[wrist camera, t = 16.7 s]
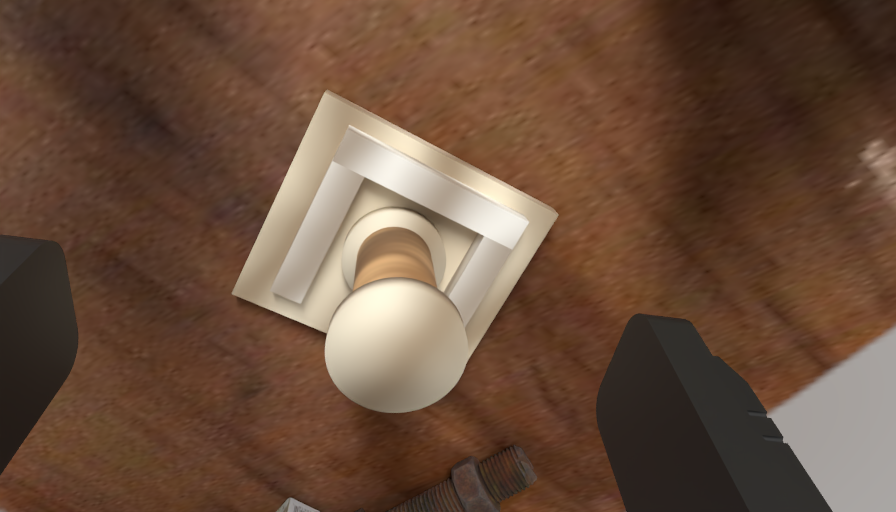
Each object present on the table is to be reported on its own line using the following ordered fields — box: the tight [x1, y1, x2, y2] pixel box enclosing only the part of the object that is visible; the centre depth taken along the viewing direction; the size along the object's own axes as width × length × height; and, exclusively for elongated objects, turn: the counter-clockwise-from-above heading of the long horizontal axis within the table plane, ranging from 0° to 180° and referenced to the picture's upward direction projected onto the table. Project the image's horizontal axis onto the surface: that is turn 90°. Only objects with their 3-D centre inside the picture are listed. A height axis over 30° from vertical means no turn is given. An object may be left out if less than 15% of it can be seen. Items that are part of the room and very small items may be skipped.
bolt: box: [355, 445, 537, 512], centre depth 45 cm, size 6×5×15 cm
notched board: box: [232, 90, 558, 361], centre depth 38 cm, size 16×14×3 cm
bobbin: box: [325, 207, 468, 413], centre depth 33 cm, size 6×6×12 cm
